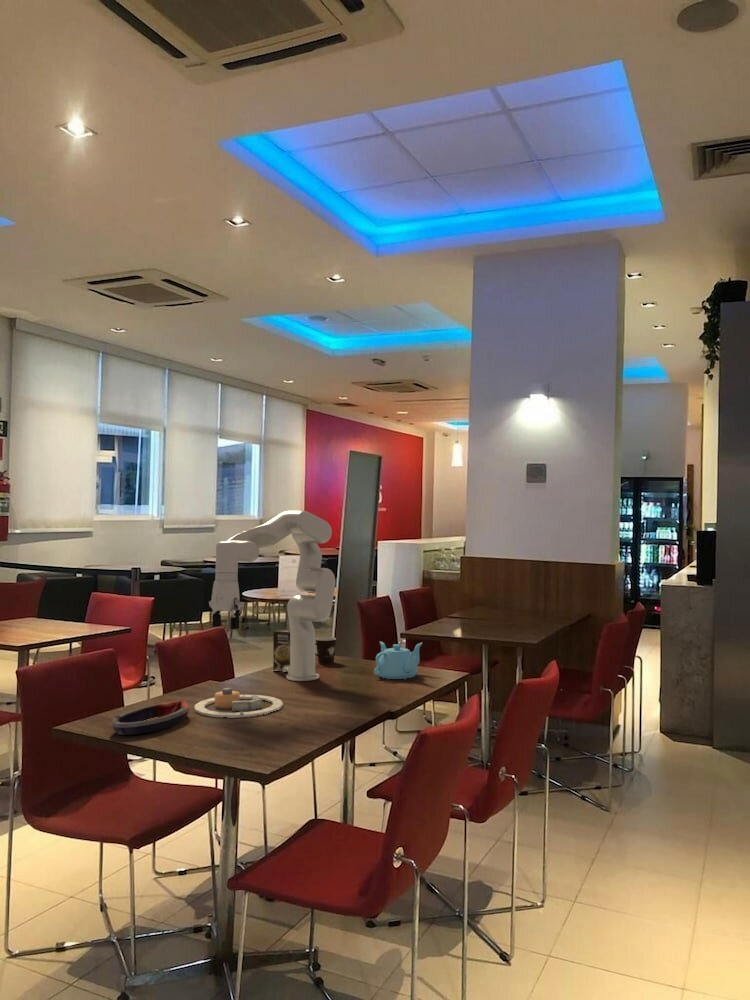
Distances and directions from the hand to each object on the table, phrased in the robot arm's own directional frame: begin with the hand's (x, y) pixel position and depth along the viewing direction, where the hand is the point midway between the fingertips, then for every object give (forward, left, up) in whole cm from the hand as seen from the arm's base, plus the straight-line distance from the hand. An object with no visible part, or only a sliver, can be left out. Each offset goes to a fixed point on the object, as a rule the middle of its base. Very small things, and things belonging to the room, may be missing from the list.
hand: (225, 627), depth 279 cm
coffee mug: (-9, +70, -24) cm, 75 cm away
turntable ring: (+13, -8, -24) cm, 28 cm away
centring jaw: (+17, -8, -24) cm, 30 cm away
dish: (+6, -38, -25) cm, 45 cm away
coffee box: (-11, +48, -24) cm, 55 cm away
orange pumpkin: (+8, -8, -24) cm, 26 cm away
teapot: (+33, +62, -24) cm, 74 cm away
